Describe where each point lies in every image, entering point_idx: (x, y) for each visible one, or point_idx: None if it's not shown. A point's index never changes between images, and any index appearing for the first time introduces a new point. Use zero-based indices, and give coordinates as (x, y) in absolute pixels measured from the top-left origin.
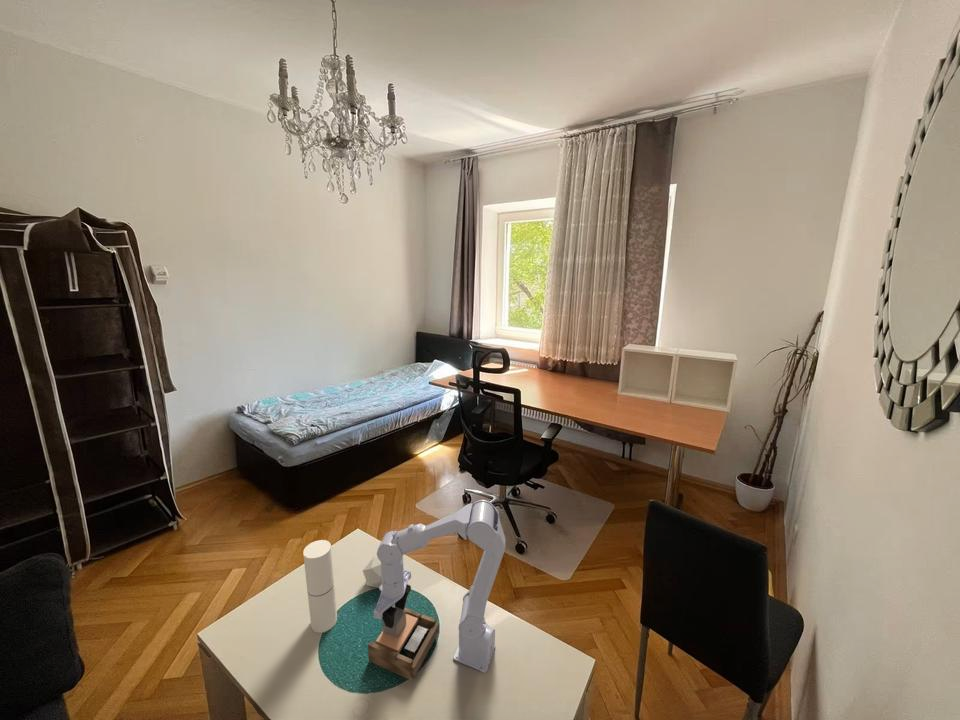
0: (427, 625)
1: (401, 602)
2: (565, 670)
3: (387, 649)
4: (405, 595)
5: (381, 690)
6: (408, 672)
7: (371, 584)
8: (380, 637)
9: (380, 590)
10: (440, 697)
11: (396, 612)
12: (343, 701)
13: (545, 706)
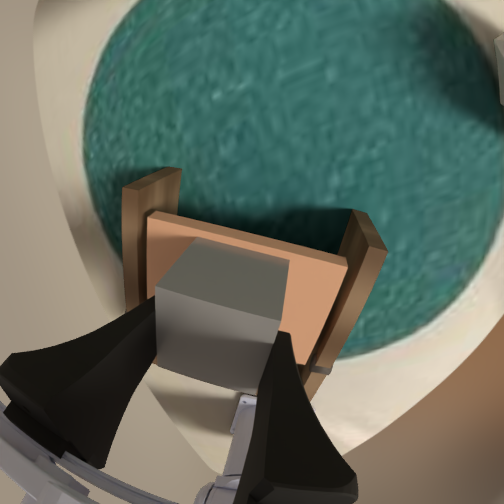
0: (302, 369)
1: (258, 417)
2: None
3: (135, 282)
4: (237, 494)
5: (112, 246)
6: None
7: (501, 56)
8: (169, 232)
9: (47, 490)
10: (157, 371)
11: (229, 357)
12: (64, 156)
13: (209, 461)
